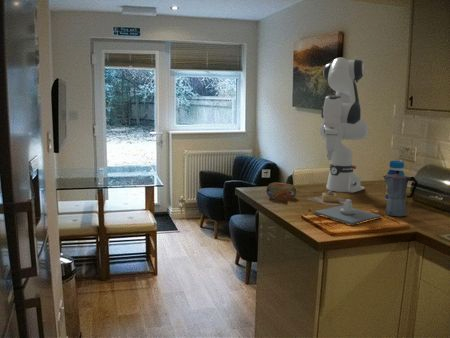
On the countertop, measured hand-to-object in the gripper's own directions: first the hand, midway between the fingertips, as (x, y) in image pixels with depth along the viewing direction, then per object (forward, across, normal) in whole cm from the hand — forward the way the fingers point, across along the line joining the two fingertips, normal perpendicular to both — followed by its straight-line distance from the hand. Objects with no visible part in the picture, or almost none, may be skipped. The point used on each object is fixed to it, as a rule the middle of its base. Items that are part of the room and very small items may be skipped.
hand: (329, 158), depth 212 cm
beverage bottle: (+22, -17, +34) cm, 43 cm away
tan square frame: (+20, 0, +1) cm, 20 cm away
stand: (+22, 0, +1) cm, 22 cm away
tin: (+22, -1, -22) cm, 31 cm away
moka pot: (+22, +12, +30) cm, 40 cm away
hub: (+22, +22, +8) cm, 33 cm away
